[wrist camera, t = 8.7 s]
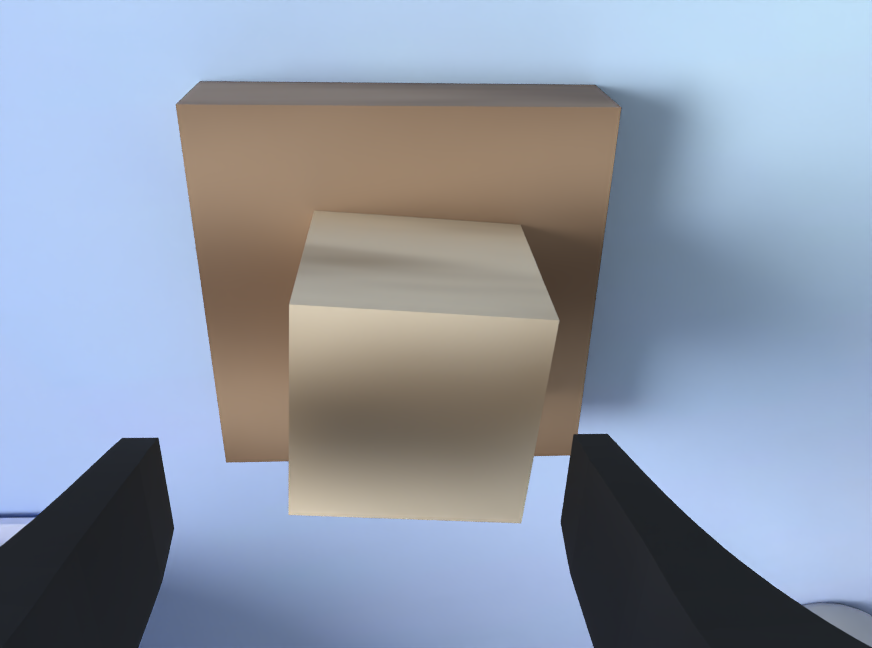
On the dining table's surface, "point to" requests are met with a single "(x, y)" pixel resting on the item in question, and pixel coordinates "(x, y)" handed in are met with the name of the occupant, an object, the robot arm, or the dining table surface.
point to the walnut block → (385, 211)
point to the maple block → (416, 369)
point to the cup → (845, 619)
